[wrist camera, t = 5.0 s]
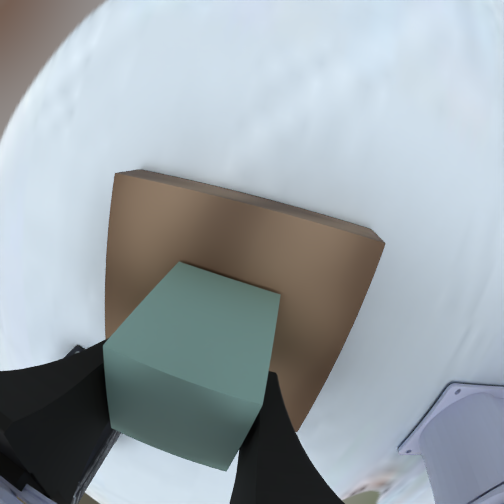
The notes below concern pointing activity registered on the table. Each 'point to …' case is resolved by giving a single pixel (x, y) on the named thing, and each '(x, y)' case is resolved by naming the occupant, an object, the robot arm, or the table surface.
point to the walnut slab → (245, 265)
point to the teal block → (192, 365)
